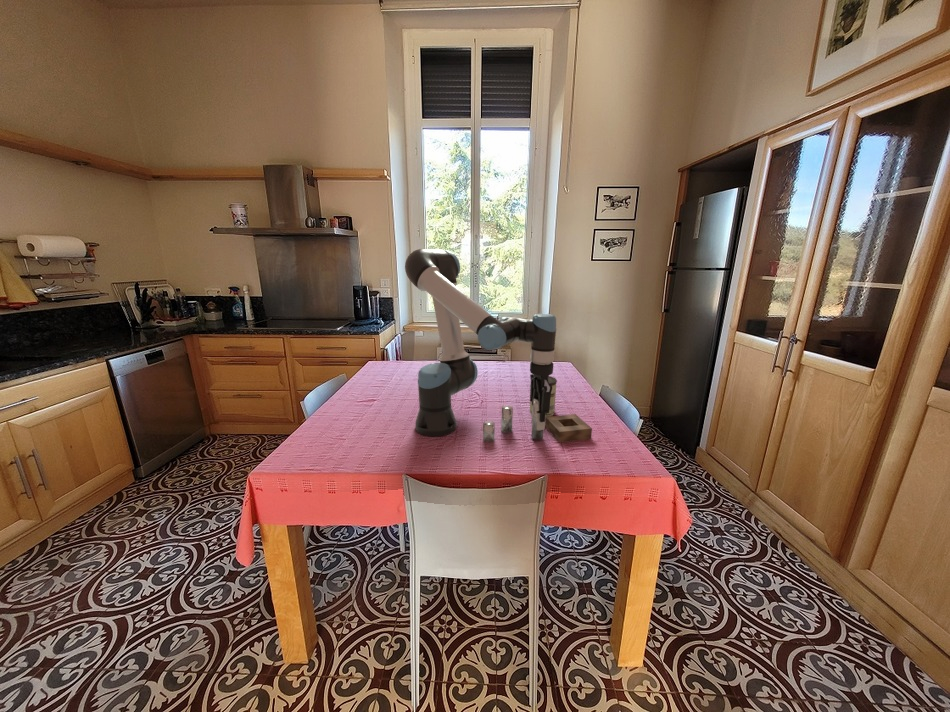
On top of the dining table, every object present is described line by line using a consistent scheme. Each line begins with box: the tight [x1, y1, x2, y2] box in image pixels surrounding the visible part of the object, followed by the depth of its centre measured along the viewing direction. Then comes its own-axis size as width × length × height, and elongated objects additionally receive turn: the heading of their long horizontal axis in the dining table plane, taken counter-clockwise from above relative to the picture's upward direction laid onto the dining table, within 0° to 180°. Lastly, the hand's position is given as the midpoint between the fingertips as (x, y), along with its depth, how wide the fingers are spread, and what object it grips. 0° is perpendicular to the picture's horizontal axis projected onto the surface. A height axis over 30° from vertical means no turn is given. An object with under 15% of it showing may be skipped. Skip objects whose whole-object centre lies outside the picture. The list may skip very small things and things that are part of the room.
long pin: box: [530, 397, 544, 441], centre depth 121 cm, size 4×4×14 cm
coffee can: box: [529, 375, 558, 418], centre depth 143 cm, size 10×10×14 cm
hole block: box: [545, 413, 593, 443], centre depth 127 cm, size 12×12×4 cm
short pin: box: [482, 420, 496, 443], centre depth 122 cm, size 4×4×6 cm
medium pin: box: [500, 405, 514, 434], centre depth 128 cm, size 4×4×9 cm
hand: (537, 426), depth 122 cm, fingers closed on long pin, 4 cm apart
